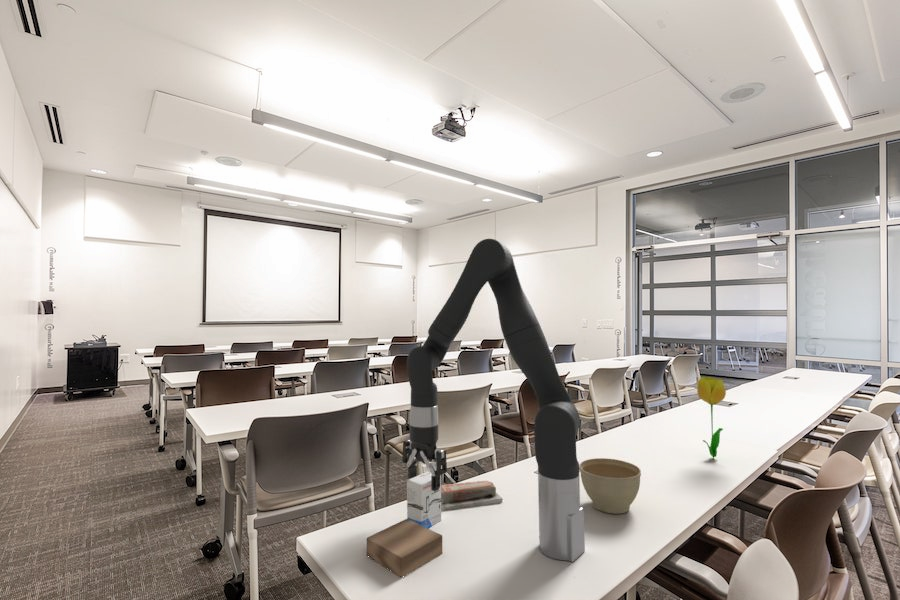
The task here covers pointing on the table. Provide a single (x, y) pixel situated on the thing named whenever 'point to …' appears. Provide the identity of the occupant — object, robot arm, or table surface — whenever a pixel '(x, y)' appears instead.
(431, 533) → the walnut base
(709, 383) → the flower
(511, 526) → the table surface
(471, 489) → the packaged product
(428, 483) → the ink box
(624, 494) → the planter bowl
